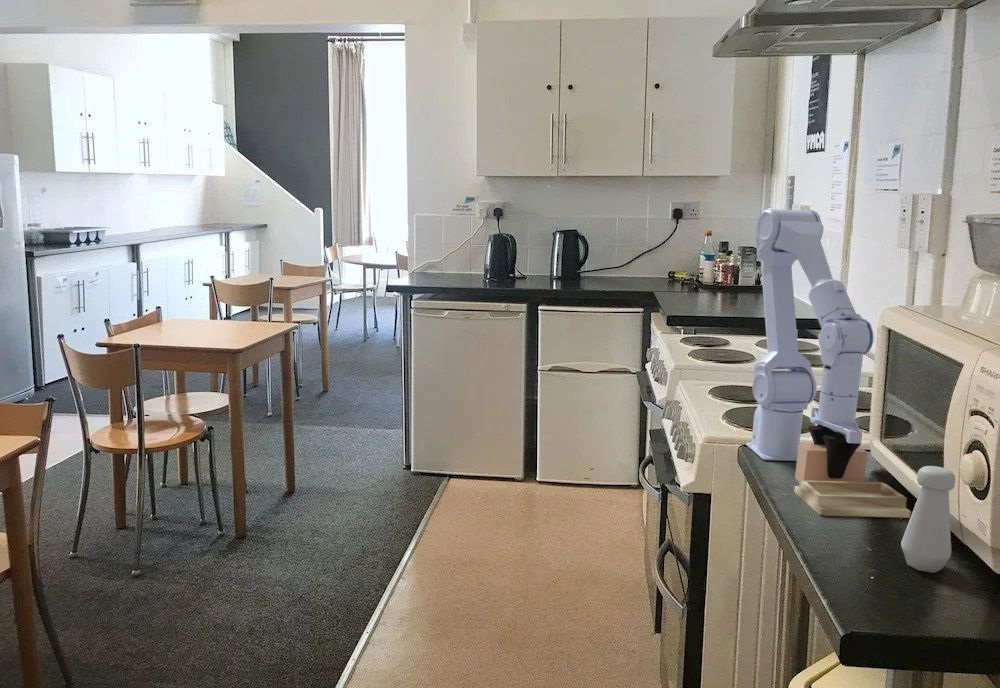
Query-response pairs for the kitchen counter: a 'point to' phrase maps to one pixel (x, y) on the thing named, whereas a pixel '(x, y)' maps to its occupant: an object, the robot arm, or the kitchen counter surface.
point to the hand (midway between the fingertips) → (829, 473)
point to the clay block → (815, 464)
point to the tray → (852, 498)
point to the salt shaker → (930, 521)
